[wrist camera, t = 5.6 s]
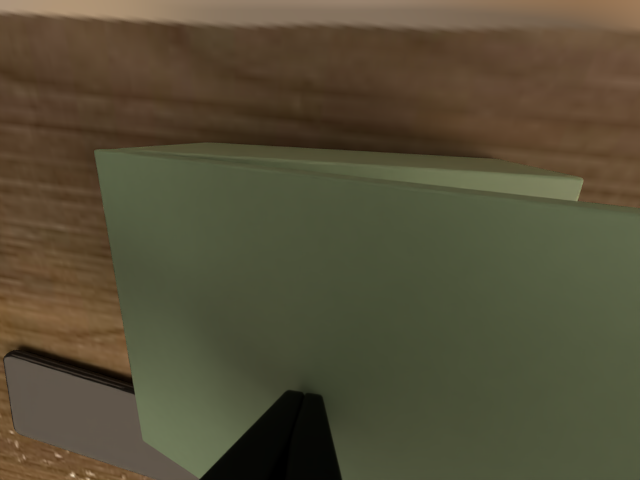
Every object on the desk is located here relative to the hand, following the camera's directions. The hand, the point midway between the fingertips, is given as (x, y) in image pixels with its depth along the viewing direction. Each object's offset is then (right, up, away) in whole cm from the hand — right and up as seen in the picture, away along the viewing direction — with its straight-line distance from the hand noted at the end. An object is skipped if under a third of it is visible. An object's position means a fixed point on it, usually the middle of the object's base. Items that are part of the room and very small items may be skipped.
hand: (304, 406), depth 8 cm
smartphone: (-12, -8, +14) cm, 20 cm away
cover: (0, 0, +1) cm, 1 cm away
